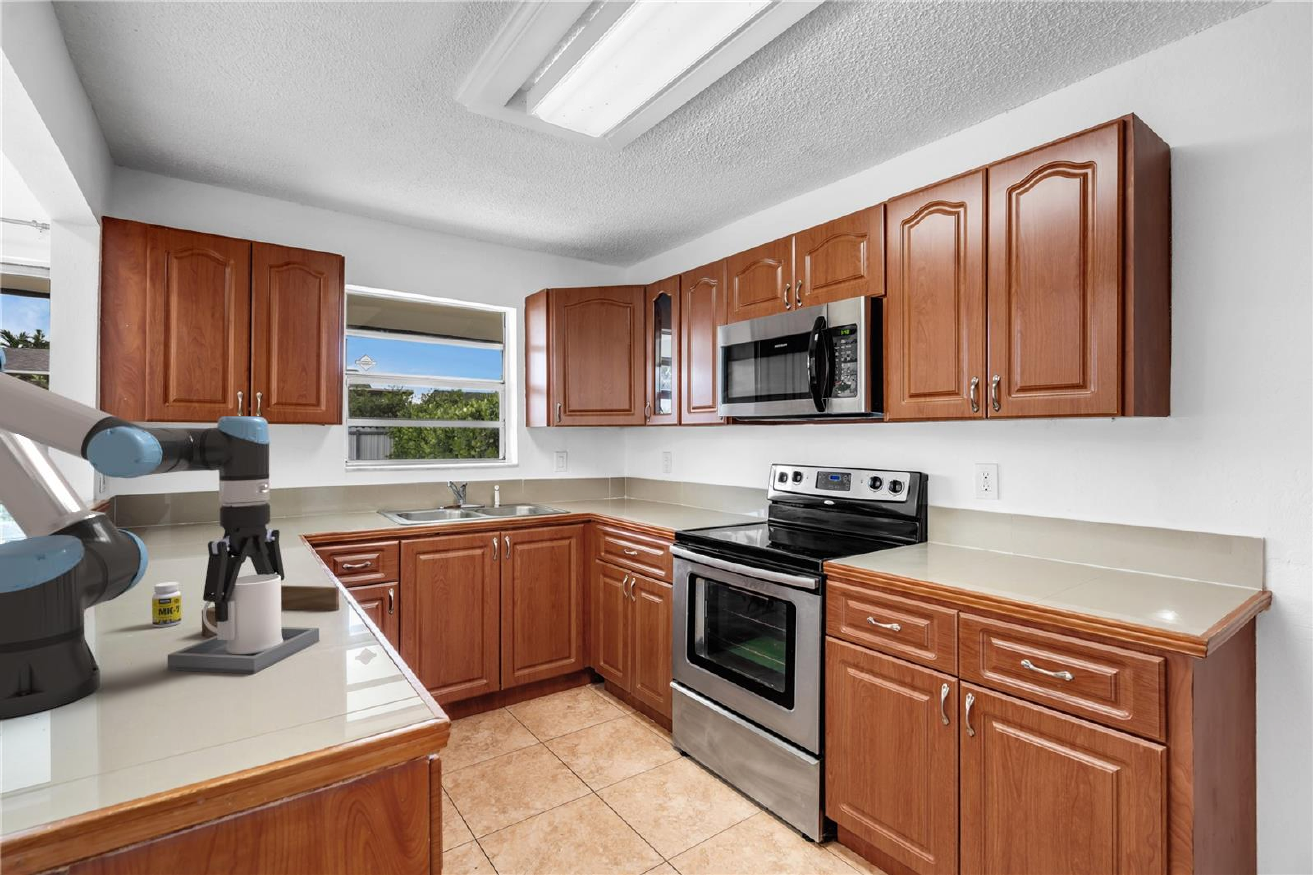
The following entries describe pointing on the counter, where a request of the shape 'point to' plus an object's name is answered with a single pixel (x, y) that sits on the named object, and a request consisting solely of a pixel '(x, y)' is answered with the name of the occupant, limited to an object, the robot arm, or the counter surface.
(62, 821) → the counter surface
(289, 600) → the bay
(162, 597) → the supplement bottle
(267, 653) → the tray
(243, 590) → the mug
